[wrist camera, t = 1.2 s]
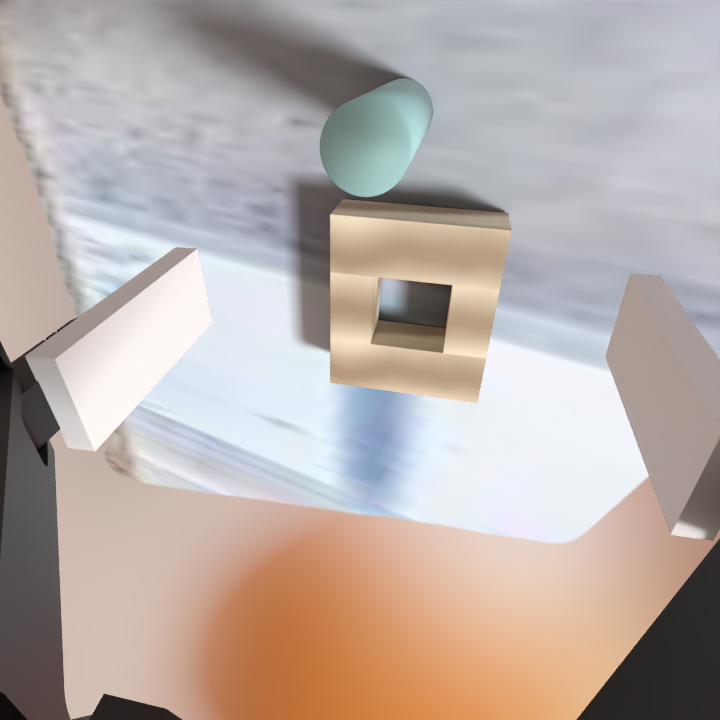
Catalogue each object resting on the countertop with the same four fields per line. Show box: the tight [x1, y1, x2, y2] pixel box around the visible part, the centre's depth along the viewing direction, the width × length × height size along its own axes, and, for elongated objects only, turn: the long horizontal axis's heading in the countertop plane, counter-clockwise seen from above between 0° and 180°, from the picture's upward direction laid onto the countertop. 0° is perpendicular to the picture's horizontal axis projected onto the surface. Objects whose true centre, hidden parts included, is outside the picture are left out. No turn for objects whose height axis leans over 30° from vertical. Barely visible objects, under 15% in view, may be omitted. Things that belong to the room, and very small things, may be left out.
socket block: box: [330, 199, 511, 403], centre depth 38 cm, size 14×12×4 cm
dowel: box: [320, 78, 433, 197], centre depth 27 cm, size 4×4×14 cm
